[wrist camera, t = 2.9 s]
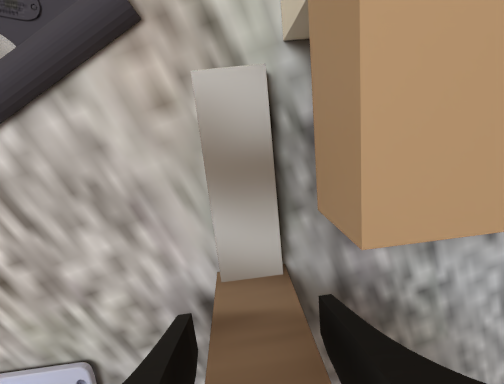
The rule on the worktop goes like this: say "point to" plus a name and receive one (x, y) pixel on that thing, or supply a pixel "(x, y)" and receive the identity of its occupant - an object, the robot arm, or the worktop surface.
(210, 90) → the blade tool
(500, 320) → the worktop surface
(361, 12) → the tan block
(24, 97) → the bracket
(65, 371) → the robot arm
